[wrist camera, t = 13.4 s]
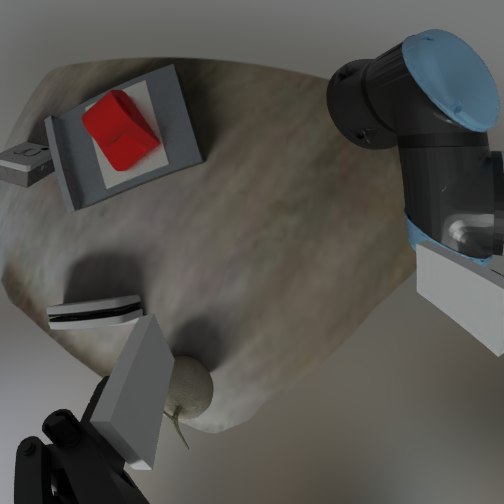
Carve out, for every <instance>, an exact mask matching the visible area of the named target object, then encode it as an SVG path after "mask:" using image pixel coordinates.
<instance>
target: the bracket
mask: <svg viewBox="0 0 504 504" xmlns="http://www.w3.org/2000/svg"><path fill="white" fill-rule="evenodd" d="M82 122H83V124H84V126H85V128H86V130H87V131H88V132H89V134H90V135H91V136H92V137H93V138H94V139H95V141H96V143H97V144H98V146H99V147H100V149H101V150H102V152H103V153H104V155H105V157H106V158H107V160H108V161H109V163H110V164H111V166H112V167H113V168H114V169H115V170H116V171H126V170H128V169H129V168H131V167H132V166H133V165H134V164H136V163H137V162H138V161H139V160H141V159H142V158H143V157H144V156H146V155H147V154H148V153H149V152H151V151H152V150H153V149H155V148H156V147H157V146H159V145H160V144H161V143H160V141H159V140H158V139H157V137H156V136H155V134H154V133H153V130H152V129H151V127H150V126H149V124H148V123H147V122H146V120H145V119H144V117H143V116H142V114H141V113H140V111H139V110H138V109H137V107H136V106H135V105H134V104H133V102H132V101H131V99H130V98H129V97H128V95H127V94H126V93H125V92H124V91H123V90H111V91H109V92H108V93H107V94H106V95H105V96H103V97H102V98H101V99H100V100H99V101H98V102H96V103H95V104H94V105H93V106H92V107H91V108H90V109H89V110H87V111H86V112H85V113H84V114H83V115H82ZM118 138H119V139H118ZM117 139H118V140H117ZM115 140H117V141H115Z"/></svg>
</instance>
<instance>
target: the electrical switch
mask: <svg viewBox="0 0 504 504" xmlns="http://www.w3.org/2000/svg"><path fill="white" fill-rule="evenodd" d="M45 168H46V169H45ZM41 169H43V170H42V171H41ZM14 170H15V171H14ZM54 171H55V167H54V163H53V159H52V155H51V151H50V147H49V146H44V145H39V144H34V143H29V142H25V143H22V144H19V145H17V146H15V147H13V148H10V149H8V150H6V151H4V152H2V153H0V180H3V181H6V182H9V183H13V184H16V185H20V186H23V187H26V188H27V187H29V186H31V185H33V184H34V183H36V182H37V181H39V180H41V179H42V178H44V177H45V176H47V175H49V174H50V173H52V172H54ZM27 180H28V182H27ZM31 181H32V182H31ZM22 183H23V184H22Z"/></svg>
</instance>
